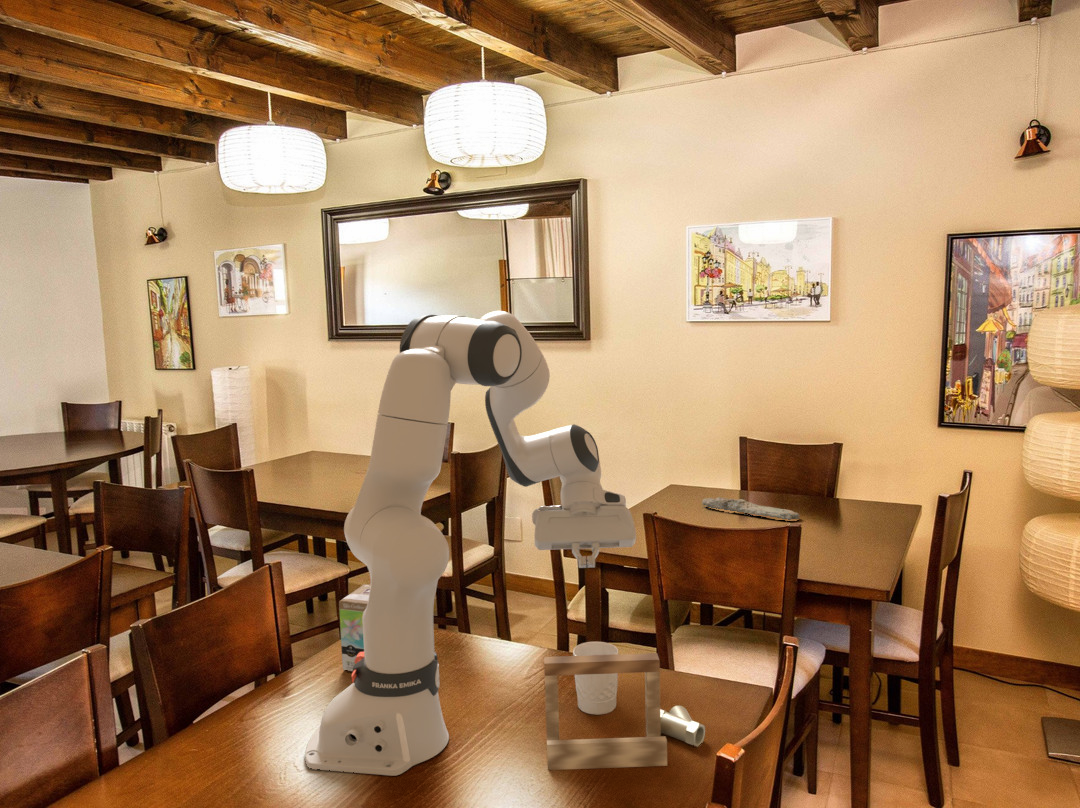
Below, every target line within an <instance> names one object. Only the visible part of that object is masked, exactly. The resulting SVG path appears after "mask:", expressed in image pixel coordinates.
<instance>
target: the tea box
mask: <svg viewBox="0 0 1080 808" xmlns="http://www.w3.org/2000/svg"><path fill="white" fill-rule="evenodd" d="M369 593H370V584H362V585H361V586H360V587H358V588H357V589H355V590H353V591H352V592H351V593H350V594H347V595H346V596H345V597H343V598H342V599H341V600H339V601H338V606H339V607H338V608H339V627H340V643H341V644H340V647H341V662H342V664H341V665H342V670H348V671H347V672H353V667H354V665H355V658H356V657H357V655H358V653H359V652H364V640H363V623H362V616H363V612H364V610H365V609H366V608H367V604H368V599H369Z"/></svg>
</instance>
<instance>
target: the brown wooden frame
mask: <svg viewBox="0 0 1080 808" xmlns="http://www.w3.org/2000/svg"><path fill="white" fill-rule="evenodd" d="M543 662H544V663H543V664H544V665H543V667H544V668H543V670H544V694H545V695H544V698H545V725H546V726H545V727H546V729H545V730H546V756H547V759H546V760H547V770H548V771H556V770H558V771H559V770H582V769H583V770H585V769H586V770H587V769H610V768H611V769H613V768H617V769H618V768H636V767H637V768H639V767H640V768H641V767H643V768H644V767H665V766H666V767H667V766H668V739H667V735H666V736H664V735H663V736H662V733H661V723H660V709H661V680H660V679H661V677H660V676H661V675H660V673H661V671H660V670H661V669H660V668H661V667H660V665H661V664H660V657H659V655H658V653H657V652H647V653H621V654H619V653H618V654H616V655H587V656H573V655H564V656H543ZM613 673H618V674H637V673H638V674H639V673H640V674H641V673H644V694H645V695H644V697H645V698H644V701H645V704H644V705H645V708H644V709H645V736H636V737H635V736H633V737H613V738H612V737H611V738H581V739H578V738H577V739H560V717H559V716H560V715H559V684H558V683H559V682H558V678H559V677H558V676H575V675H585V674H613Z"/></svg>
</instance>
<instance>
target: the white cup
mask: <svg viewBox="0 0 1080 808" xmlns="http://www.w3.org/2000/svg"><path fill="white" fill-rule="evenodd" d="M616 654H619V649H618V647H617V646H616V645H614V644H611V643H609V642H607V641H606V642H605V641H587V642H582V643H580V644H578V645H576V646H575V647H574V648H573V650H572V656H587V655H616ZM618 676H619V673H613V674H585V675H574V682H575V683H574V684H575V692H576V695H577V696H576V697H577V699H576V700H577V707H578V709H579V710H581V712H584V713H586V714H589V715H595V716H596V715H597V716H599V715H605V714H609V713H611V712H613V711H614V709H616V708H617V693H618V683H619V682H618V681H619V680H618Z"/></svg>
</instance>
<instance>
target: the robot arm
mask: <svg viewBox="0 0 1080 808" xmlns="http://www.w3.org/2000/svg"><path fill="white" fill-rule="evenodd" d="M550 373H551V372H550V369H549V365H548V362H547V360H546V358H545V355H544V354H543V352H542V351H541V349H540V347H539V346H538V344H537V342H536V340H535V339H534V338H533V336H532V335H531V333H530V332H529V331H528V330H527V328H526V327H525V326H524V324H522V323H521V321H520V320H519V319H518V318H517V317H516V316H515V315H514V314H512V313H511V312H507V311H504V310H494V311H491V312H488V313H486V314H484V315H482V316H481V317H480V318H479V319H477V318H473V317H467V316H465V315H454V314H453V315H436V314H427V315H422V316H418V317H416V318H414V319H412V320H411V321H410V322H409V323H408V324H407V326H406V327H405V328H404V331H403V332H402V335H401V339H400V343H399V353H398V354H396V356H395V357H394V358H393V359H392V361H391V364H390V367H389V369H388V372H387V373H386V374H387V375H386V378H385V381H384V384H383V388H382V392H381V394H380V395H381V396H380V400H379V404H378V405H379V406H378V410H377V413H378V414H377V418H376V422H375V423H376V424H375V429H374V435H373V441H372V447H371V453H370V459H369V463H368V466H367V469H366V470H367V471H366V473H365V476H364V480H363V481H362V484H361V487H360V489H359V492H358V495H357V498H356V501H355V504H354V506H353V507H352V508H351V509H350V511H349V512H348V514H347V516H346V518H345V520H344V524H343V525H344V526H343V532H344V537H345V540H346V543H347V546H348V548H349V549H350V551H351V553H352V554H353V556H354V557H355V558H356V559H357V560H359V561H360V562H362V563H363V564H364V565H366V567H367V570H368V572H369V577H370V584H369V585H370V593H369V599H368V604H367V608H366V609H365V610H364V612H363V616H362V623H363V640H364V652H359V653H358V655H357V657H356V658H355V665H354V667H353V671H352V673H351V684H350V685H349V686H347V687H346V688H345V689H343V691H340V692H339V693H338V694H337V695H336V696H334V698H333V699H332V700H331V701H330V702H329V704H328V705H327V707H326V708H325V710H324V712H323V714H322V716H321V717H322V718H321V720H320V725H319V727H318V728H317V729H316V730H314V732H313V734H312V735H311V737H310V738H309V739H308V742H307V745H306V748H305V751H304V761H306V762H305V765H306V764H307V765H306V767H307V766H308V767H309V768H308V767H307V768H308V769H310V768H312V769H311V770H317V769H320V770H321V771H329V770H330V771H331V772H343V771H344V773H353V772H354V773H355V774H356V773H357V774H367V775H368V774H369V775H379V776H380V775H381V776H391V777H392V776H396V777H397V776H398V775H401V774H403V773H405V772H406V771H408V770H409V769H411V768H412V767H413V766H416V765H418V764H420V763H423V762H425V761H428V760H430V759H431V758H434V757H435V756H437V755H438V754H440V753H441V752H442V751H443V750H444V749H445V747H446V746H447V744H448V743H449V739H450V735H449V731H448V729H447V727H446V723H445V719H444V717H443V711H442V708H441V702H440V696H439V690H440V689H439V688H440V665H439V659H438V654H437V652H436V651H435V634H434V629H435V628H434V604H435V597H436V592H437V588H438V581H439V579H440V578H441V577H442V575H444V573H445V571H446V569H447V567H448V564H449V561H450V547H449V543H448V541H447V539H446V537H445V536H444V534H443V532H442V531H441V530H440V529H439V527H437V525H436V524H435V522H434V521H432V520H431V519H429V518H428V517H426V516H424V515H422V514H421V512H422V507H423V503H424V500H425V498H426V496H427V493H428V491H429V489H430V486H431V485H432V483H433V481H435V480H436V479H437V478H438V476H439V474H440V473H441V470H442V464H443V458H444V457H443V456H444V453H445V452H444V450H445V444H446V439H447V438H446V437H447V432H448V424H449V419H450V409H451V398H452V397H451V394H452V392H451V391H452V389H453V388H454V387H455V385H456V384H460V385H461V384H462V385H470V386H471V385H475V386H477V385H480V386H483V387H489V388H488V389H487V390H486V392H485V394H484V395H485V396H484V405H485V411H486V415H487V418H488V420H489V424H490V427H491V429H492V431H493V434H494V437H495V439H496V441H497V444H498V446H499V449H500V452H501V454H502V458H503V462H504V465H505V469H506V472H507V475H508V477H509V478H510V479H511V480H512V481H513V482H514V483H516V484H518V485H520V486H522V487H530V486H532V485H536V484H538V483H540V482H543V481H544V482H545V481H547V480H551V479H555V478H559V479H560V482H561V487H560V505H549V506H546V505H542V506H539V507H538V508H535V509H533V511H532V514H531V515H532V516H531V518H532V519H531V520H532V523H533V525H534V546H535V548H537V550H539V551H550V550H556V551H557V550H571V553H572V555H573V556H574V557H575V559H576V560H577V562H578V568H579V569H585V568H596V559H597V557H598V555H599V553H600V549H609V548H611V549H612V548H613V549H615V548H616V549H617V548H632V547H633V546H634V545H635V543H636V540H637V533H636V532H637V531H636V526H635V521H634V519H633V515H632V512H631V510H630V508H628V507H627V500H626V499H627V498H626V496H625V495H624V494H621V493H617V492H613V491H609V490H606V489H603V487H602V484H601V478H602V468H601V460H600V456H599V448H598V445H597V442H596V440H595V438H594V437H593V435H592V434H591V432H589V431H588V430H586V429H585V428H583V427H581V426H580V425H578V424H575V423H574V424H568V425H564V426H560V427H556V428H554V429H551V430H546V431H543V432H540V433H536V434H531V435H520V433H519V430H518V428H517V425H516V423H515V420H514V419H515V418H517V417H518V416H519V415H520V414H522V413H523V412H525V411H527V410H528V409H530V408H532V407H533V406H535V405H536V404H537V403H538V402H539V401H540V400H541V399H542V397H543V396H544V395H545V392H546V390H547V389H548V386H549V384H550V376H551V375H550ZM581 549H582V550H583V549H584V550H585V549H586V550H587V549H591V552H592V554H591V555H587V556H586V555H583V556H582V554H581V553H580V550H581ZM320 770H319V771H320Z"/></svg>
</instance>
